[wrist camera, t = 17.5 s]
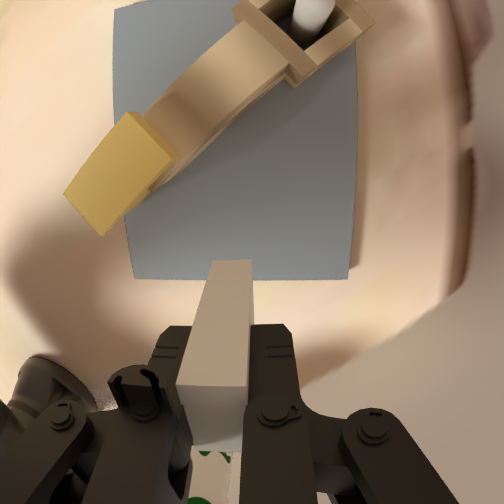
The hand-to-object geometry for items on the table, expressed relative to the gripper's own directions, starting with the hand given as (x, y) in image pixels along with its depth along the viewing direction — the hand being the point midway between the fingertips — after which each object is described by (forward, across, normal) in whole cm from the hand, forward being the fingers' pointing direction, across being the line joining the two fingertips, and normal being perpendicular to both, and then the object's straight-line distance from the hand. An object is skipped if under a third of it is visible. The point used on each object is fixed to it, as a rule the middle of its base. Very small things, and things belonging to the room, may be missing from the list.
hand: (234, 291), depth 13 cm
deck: (+17, -1, +6) cm, 18 cm away
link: (+15, 0, +10) cm, 18 cm away
